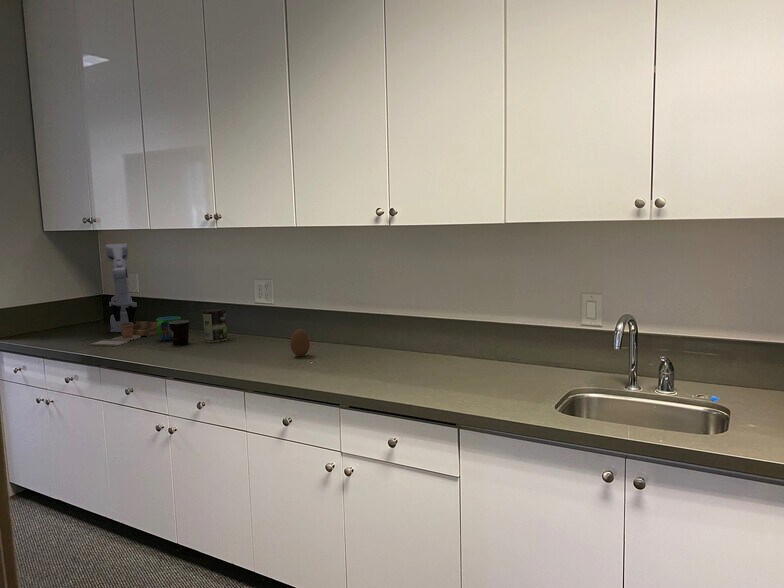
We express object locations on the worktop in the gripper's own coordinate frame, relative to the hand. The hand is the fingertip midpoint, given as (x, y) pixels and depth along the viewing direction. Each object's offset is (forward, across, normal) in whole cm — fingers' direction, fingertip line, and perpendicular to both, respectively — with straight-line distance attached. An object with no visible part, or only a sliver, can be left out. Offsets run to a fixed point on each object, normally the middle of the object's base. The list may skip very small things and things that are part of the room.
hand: (124, 321), depth 287 cm
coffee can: (+8, +45, +7) cm, 46 cm away
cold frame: (+8, -1, +12) cm, 15 cm away
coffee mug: (+8, +35, -5) cm, 36 cm away
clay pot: (+7, 0, +1) cm, 7 cm away
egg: (+8, +99, -13) cm, 100 cm away
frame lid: (+8, 0, -11) cm, 13 cm away
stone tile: (+8, 0, 0) cm, 8 cm away
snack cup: (+8, +22, +4) cm, 24 cm away
